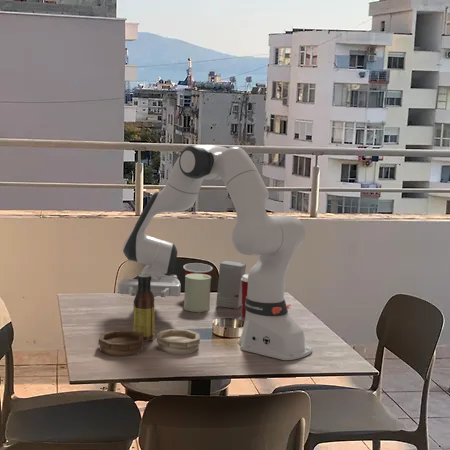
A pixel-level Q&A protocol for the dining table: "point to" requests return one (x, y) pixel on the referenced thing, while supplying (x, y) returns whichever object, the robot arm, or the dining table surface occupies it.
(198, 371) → the dining table surface
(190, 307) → the can
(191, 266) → the plastic cup
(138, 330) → the sauce bottle
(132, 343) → the walnut ring seat
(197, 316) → the dining table surface
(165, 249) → the robot arm
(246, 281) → the paper cup
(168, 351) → the birch ring seat
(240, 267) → the skincare box
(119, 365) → the dining table surface
